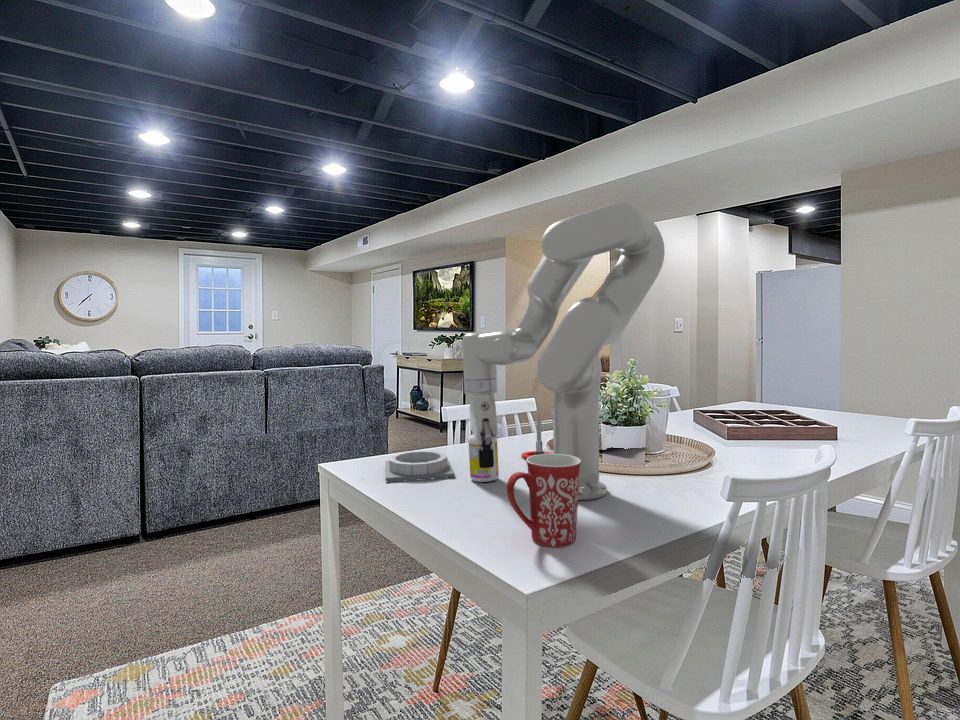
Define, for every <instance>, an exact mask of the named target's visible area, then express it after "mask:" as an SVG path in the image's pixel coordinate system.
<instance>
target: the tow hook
mask: <svg viewBox="0 0 960 720" xmlns="http://www.w3.org/2000/svg"><path fill="white" fill-rule="evenodd" d="M536 414H537V415H536V416H537V417H536V418H537V419H536V441H535V450H534V451H532V450H531V451H525V452H522V453H521V456H520V457H521V458H522V459H524V460H526V459H527V458H528V457H530V456H533V455H539V454H553V452H549V451H544V450H543V440H542V420H541V412H540V411H537V412H536Z"/></svg>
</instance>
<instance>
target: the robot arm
mask: <svg viewBox="0 0 960 720" xmlns="http://www.w3.org/2000/svg"><path fill="white" fill-rule="evenodd" d="M540 245H541V251H542V253H543V256H544V257H543V259H542V261H540V263H539V265H538V267H537V268H536V269H535V271H534V272H533V274H532V276H530V278H529V280H528V282H527V284H526V289H527V294H528V306H527V309H526V311H525V314H524V315H523V317H522V319H521V320H520V321H519V323H518V325H517V326H516V328H515V329H513V330H511V329H509V330H508V329H507V330H500V331H496V332H495V331H494V332H485V331H484V332H469V333H465V334H464V335H463V337H462V342H461V343H462V366H463V385H464V387H463V388H464V389H463V390H464V395H469V396H468V397H469V400H468V401H469V418H470V419H469V420H470V423H469V424H470V430H471V432H472V433H473V431H474V435H475V436H476V437H478V438H479V444H480V450H479V467H480V468H489V467H493V466H494V457H493V445H492V436H491V434H492V435H493V436H494V437H497V436H498V434H499V432H498V420H497V417H498V416H497V408H496V401H495V400H496V398H495V394H496V393H498V379H497V378H498V377H497V365H498V366H508V365H515V364H519V363H525V362H527V361H529V360H530V359H532V358H533V357H534V356H535V355H536V353H537V352H538V351H539V350H540V348H541V346H542V345H543V343H544V342H545V341H546V340H547V338H548V336H549V335H550V334H551V332H552V329H553V328H554V325H555V322H556V320H557V317H558V315H559V313H560V308H561V306H562V305H563V303H564V301H565V300H566V298H567V296H568V295H569V294H570V292H571V290H572V289H573V287H574V286H575V284H576V283H577V282H578V280H579V278H580V277H581V275H582V274H583V272H585V270H586V268H587V267H588V265H589V263H591V260H592V259H593V257H594V256H598V255H600V254H605V253H608V252H612V251H618V252H620V255H619V259H618V261H617V262H616V264H615V265H614V266H613V267H612V269H611V270H610V271H609V273H608V274H607V275H606V277H605V279H604V281H603V283H602V284H601V286H600V287H599V288H598V290H597V292H596V293H595V294H594V295H593V296H589V297H584V298H582V299H580V300H578V301H576V302H575V303H574V304H572V306H571V307H569V309H568V310H567V312H566V313H564V315H563V317H562V319H561V320H560V322H559V324H558V325H557V327H556V328H555V330H554V332H553V333H552V335H551V337H550V338H549V340H548V342H547V343H546V345H545V347H544V348H543V350H542V352H541V353H540V355H539V358H538V361H537V365H536V372H537V376H538V380H539V382H540V384H541V385H542V386H543V387H545V388H546V389H547V390H548V391H550V392H553V400H552V401H553V405H552V406H553V407H552V442H553V444H552V445H553V449H552V450H553V452H552V454H565V455H571V456H574V457H577V458H579V459H580V460H581V464H580V470H579V488H578V501H587V500H593V499H594V500H595V499H599V498H602V497H603V496H605V495H606V494H607V492H608V487H607V485H606V484H605V483H604V482H602V481H600V451H599V417H600V412H599V411H600V390H601V383H602V381H601V380H602V363H601V360H600V357H599V354H600V352H601V351H602V349H603V348H604V346H607V345H610V344H612V343H614V342H616V341H618V339H619V338H620V337H621V336H622V335H623V332H624V331H625V329H626V328H627V326H628V325H629V323H630V321H631V319H632V318H633V317H634V315H635V313H636V312H637V311H638V309H639V307H640V305H641V304H642V303H643V301H644V299H645V297H646V296H647V294H648V292H649V291H650V290H651V288H652V286H653V284H655V281H656V279H658V277H659V275H660V272H661V270H662V268H663V264H664V262H665V261H664V260H665V243H664V238H663V236H662V233H661V231H660V230H659V227H658V226H657V224H655V222H654V220H653V219H652V218H651V217H650V216H649V215H648V214H647V213H645V211H642V210H641V209H639V208H637V206H635V205H634V204H631V203H628V202H623V201H622V202H621V201H620V202H612V203H609V204H605V205H602V206H599V207H596V208H593V209H590V210H587V211H583V212H581V213H578V214H575V215H572V216H568V217H565V218H562V219H560V220H558V221H556V222H554V223H553V224H552V223H551V225H549V226H548V228H547V229H546V230H545V232H544V233H543V236H542V238H541V244H540ZM482 424H483V425H482ZM472 425H473V429H474V430H472ZM481 434H484V435H485V436H481ZM482 440H483V443H482Z"/></svg>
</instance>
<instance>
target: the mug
mask: <svg viewBox="0 0 960 720" xmlns="http://www.w3.org/2000/svg"><path fill="white" fill-rule="evenodd" d="M525 461H526V466H527V473H526V472H523V471H521V472H520V471H518V472H515V473H513V474H511V476H509V479H507V480H508V481H507V482H506V483H507V484H506V494H507V497H508V501H509V503H510V505H511V507H512V509H513V510H514V512H515V513H516V514H517V516H518V517H519V518H520V520H521V521H523V523H524V524H525V525H526V526H527V527H528V529H530V530H531V539H532V541H533V542H534V541H535V542H534V543H535V544H538V545H540V544H541V546H543V547H544V546H545V547H549V546H551V548H563V547H567V545H568V546H571V545H573V544H574V543H575V541H576V537H577V523H578V507H579V505H578V504H579V502H578V501H579V500H578V488H579V470H580V464H581V460H580V459H579V458H577V457H574V456H571V455H565V454H553V453H552V454H539V455H530V457H528V458H527V459H525ZM520 479H523V480H524V481H525V483H526V485H527V488H528V491H529V492H528V493H529V494H528V495H529V496H528V497H529V511H530V519H529V518H528V517H527V516H526V515H525V513H524V512H523V511H522V510H521V508H520V507H519V505H518V503H517V501H516V498H515V493H514V492H515V490H514V489H515V484H516V482H517V481H518V480H520ZM572 543H573V544H572ZM570 544H571V545H570ZM562 546H563V547H562Z"/></svg>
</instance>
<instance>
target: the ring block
mask: <svg viewBox="0 0 960 720" xmlns="http://www.w3.org/2000/svg"><path fill="white" fill-rule="evenodd" d="M388 459H389V460H386V461H385V473H384V474H385V476H384V477H385V482H386V481H397V482H405V481H404V480H412V481H418V480H417V479H427V480H432V479H431V478H442V479H447V478H446V477H455V472H454V469H453V468H452V465H451V463H450V461H449V459H448V456H447V454H446V453H444V452H440V451H438V450H437V451H436V450H410V451H409V450H408V451H403V452H398V453H397V452H396V453H395V454H392V455H391V456H389V458H388ZM455 478H456V477H455Z"/></svg>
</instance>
